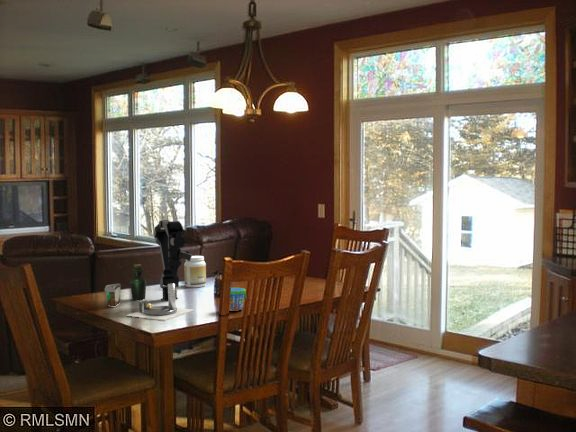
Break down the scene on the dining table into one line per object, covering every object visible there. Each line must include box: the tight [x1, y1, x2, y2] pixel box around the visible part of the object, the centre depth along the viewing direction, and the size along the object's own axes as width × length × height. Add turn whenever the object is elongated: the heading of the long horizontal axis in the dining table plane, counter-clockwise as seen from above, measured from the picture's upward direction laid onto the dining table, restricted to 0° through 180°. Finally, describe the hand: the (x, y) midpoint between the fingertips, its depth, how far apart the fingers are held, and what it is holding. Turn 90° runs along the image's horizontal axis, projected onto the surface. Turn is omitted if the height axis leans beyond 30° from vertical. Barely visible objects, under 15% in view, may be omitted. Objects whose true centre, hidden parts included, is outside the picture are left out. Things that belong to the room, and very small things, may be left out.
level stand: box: [125, 299, 195, 322], centre depth 299 cm, size 22×22×5 cm
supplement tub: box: [183, 255, 207, 289], centre depth 370 cm, size 12×12×17 cm
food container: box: [104, 283, 122, 306], centre depth 318 cm, size 12×6×10 cm, turn 1°
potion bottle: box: [129, 263, 147, 301], centre depth 333 cm, size 8×8×18 cm
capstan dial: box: [143, 283, 178, 315], centre depth 299 cm, size 15×15×13 cm
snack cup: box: [230, 287, 247, 310], centre depth 303 cm, size 16×10×10 cm
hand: (175, 278), depth 320 cm, fingers closed
